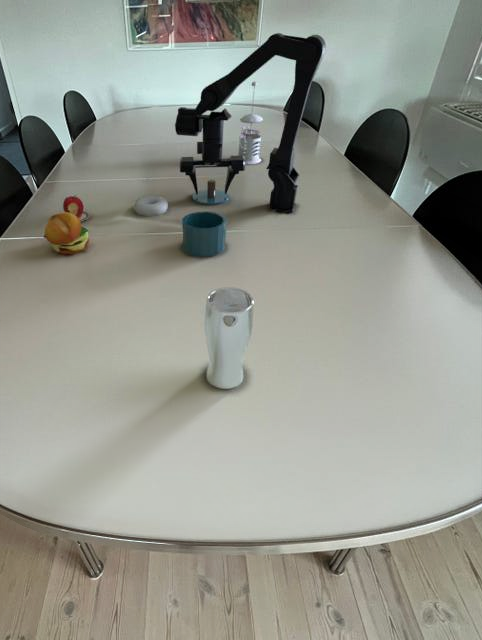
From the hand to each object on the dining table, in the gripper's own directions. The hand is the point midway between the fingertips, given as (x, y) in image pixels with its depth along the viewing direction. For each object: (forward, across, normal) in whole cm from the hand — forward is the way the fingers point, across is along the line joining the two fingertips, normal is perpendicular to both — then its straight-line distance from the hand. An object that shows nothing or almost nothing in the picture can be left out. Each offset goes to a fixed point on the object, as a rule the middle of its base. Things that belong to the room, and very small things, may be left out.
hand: (211, 193), depth 124 cm
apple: (+2, +40, +12) cm, 41 cm away
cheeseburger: (+2, +37, +31) cm, 48 cm away
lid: (+1, 0, 0) cm, 1 cm away
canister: (+2, +3, +32) cm, 32 cm away
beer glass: (+2, +1, +78) cm, 78 cm away
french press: (+2, -15, -39) cm, 42 cm away
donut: (+2, +18, +8) cm, 20 cm away
